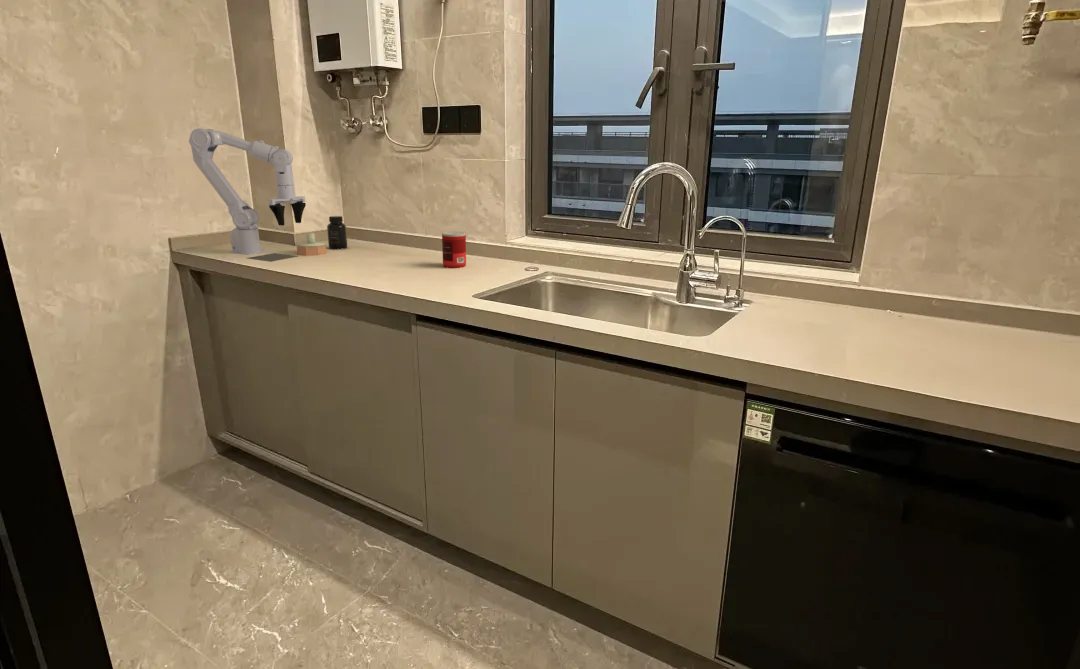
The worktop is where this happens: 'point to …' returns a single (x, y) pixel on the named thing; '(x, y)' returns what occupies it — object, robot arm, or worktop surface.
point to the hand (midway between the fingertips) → (290, 224)
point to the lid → (311, 241)
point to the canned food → (454, 249)
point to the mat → (272, 257)
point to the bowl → (311, 250)
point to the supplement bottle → (336, 233)
